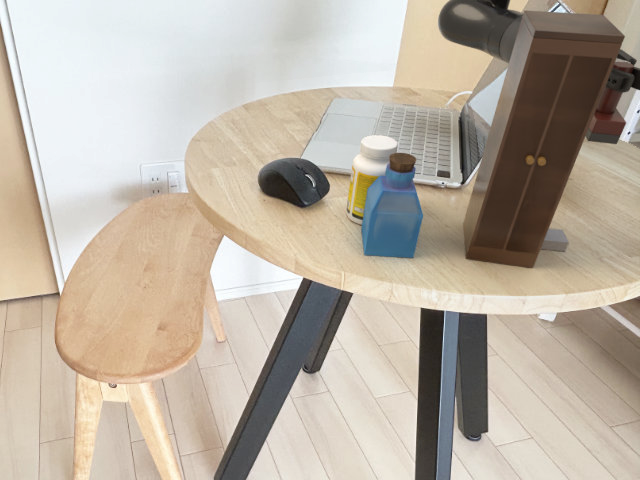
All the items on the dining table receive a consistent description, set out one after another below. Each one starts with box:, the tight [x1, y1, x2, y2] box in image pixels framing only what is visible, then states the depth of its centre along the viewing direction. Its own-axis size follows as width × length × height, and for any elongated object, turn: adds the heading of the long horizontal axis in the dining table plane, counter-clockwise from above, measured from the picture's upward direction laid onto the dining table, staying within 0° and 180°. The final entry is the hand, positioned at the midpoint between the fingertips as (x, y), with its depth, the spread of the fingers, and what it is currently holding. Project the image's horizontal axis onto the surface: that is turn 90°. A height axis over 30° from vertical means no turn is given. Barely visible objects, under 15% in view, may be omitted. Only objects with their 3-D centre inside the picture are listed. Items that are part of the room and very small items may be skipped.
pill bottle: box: [345, 134, 399, 226], centre depth 77 cm, size 6×6×11 cm
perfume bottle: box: [360, 152, 424, 259], centre depth 71 cm, size 6×6×12 cm
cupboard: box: [462, 10, 626, 269], centre depth 66 cm, size 10×8×27 cm
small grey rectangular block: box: [540, 227, 570, 252], centre depth 75 cm, size 3×3×1 cm
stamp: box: [585, 62, 635, 145], centre depth 76 cm, size 8×4×9 cm, turn 166°
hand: (638, 83), depth 72 cm, fingers closed on stamp, 2 cm apart
